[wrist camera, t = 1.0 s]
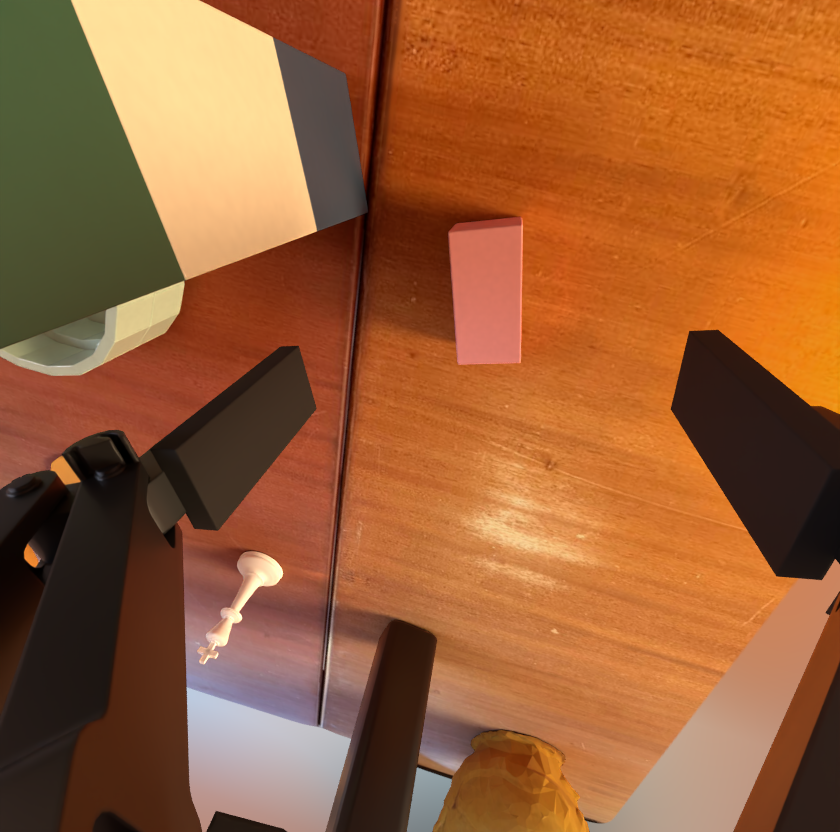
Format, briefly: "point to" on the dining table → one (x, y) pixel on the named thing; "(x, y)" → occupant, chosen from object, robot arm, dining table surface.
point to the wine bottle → (386, 735)
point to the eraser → (487, 290)
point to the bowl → (98, 335)
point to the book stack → (155, 152)
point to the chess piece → (242, 597)
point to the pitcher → (511, 789)
